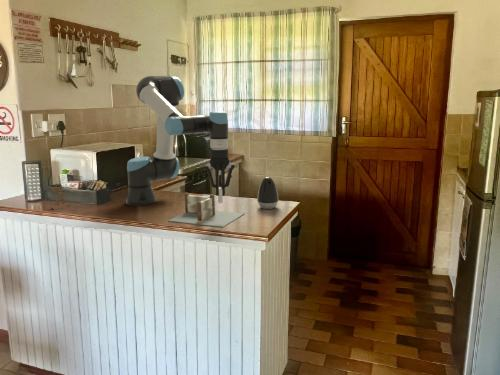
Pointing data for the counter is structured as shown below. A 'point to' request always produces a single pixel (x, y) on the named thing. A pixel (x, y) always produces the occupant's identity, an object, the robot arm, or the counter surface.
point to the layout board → (208, 219)
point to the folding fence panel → (204, 208)
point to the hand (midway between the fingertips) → (220, 202)
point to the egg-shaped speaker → (267, 194)
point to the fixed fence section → (192, 202)
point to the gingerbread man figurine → (59, 194)
